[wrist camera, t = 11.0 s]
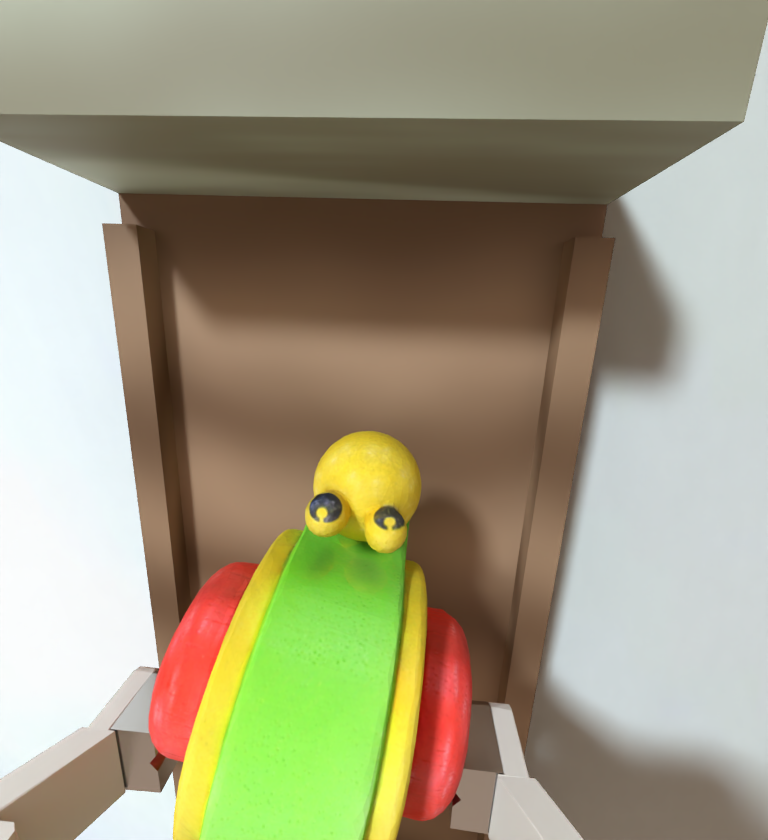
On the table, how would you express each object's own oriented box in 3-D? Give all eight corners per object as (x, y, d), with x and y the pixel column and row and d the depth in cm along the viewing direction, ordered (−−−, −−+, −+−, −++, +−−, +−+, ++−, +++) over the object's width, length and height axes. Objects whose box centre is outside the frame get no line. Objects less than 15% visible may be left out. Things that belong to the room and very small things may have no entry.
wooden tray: (144, 138, 12) (-93, -24, 7) (595, 144, 11) (781, -37, 6) (211, 809, 20) (127, 1010, 14) (486, 843, 19) (519, 1073, 13)
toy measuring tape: (501, 437, 11) (626, 608, 4) (354, 881, 16) (312, 1263, 9) (277, 382, 11) (80, 468, 4) (203, 839, 16) (60, 1188, 9)
